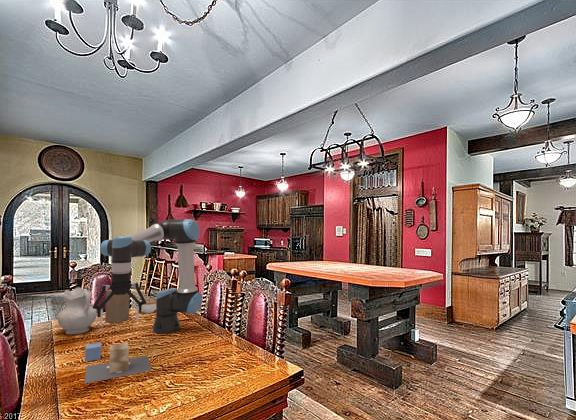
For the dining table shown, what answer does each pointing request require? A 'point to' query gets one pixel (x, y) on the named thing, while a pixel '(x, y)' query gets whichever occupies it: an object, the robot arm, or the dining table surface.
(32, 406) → the dining table surface
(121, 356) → the maple block
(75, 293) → the ceramic pitcher
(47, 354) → the dining table surface
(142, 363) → the board
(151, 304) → the lidded jar
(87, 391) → the dining table surface
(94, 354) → the blue cube
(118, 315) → the wooden block
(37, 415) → the dining table surface
